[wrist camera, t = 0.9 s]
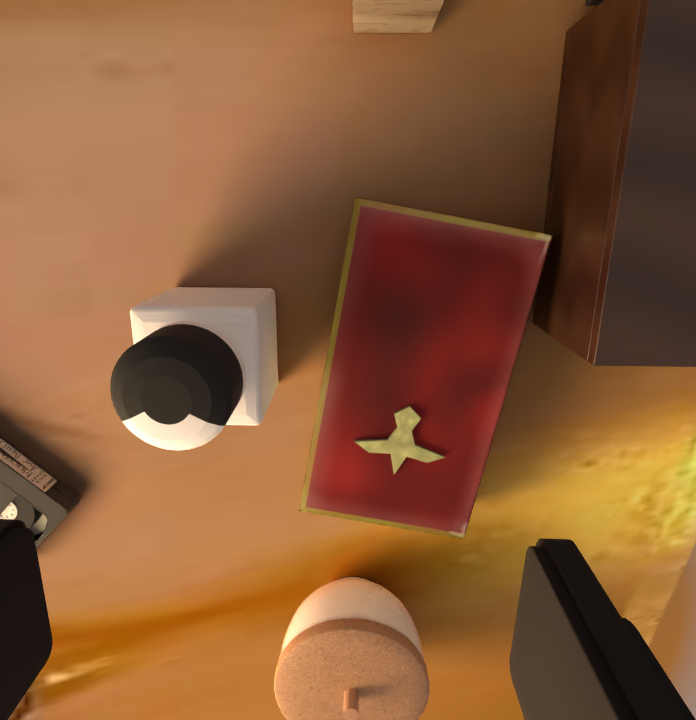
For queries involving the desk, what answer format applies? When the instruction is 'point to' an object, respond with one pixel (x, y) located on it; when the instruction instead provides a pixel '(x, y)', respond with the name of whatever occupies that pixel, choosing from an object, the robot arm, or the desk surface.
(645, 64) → the cabinet
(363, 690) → the trinket box
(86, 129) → the desk surface
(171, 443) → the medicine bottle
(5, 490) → the vhs tape
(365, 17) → the block
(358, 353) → the hardcover book
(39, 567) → the robot arm
